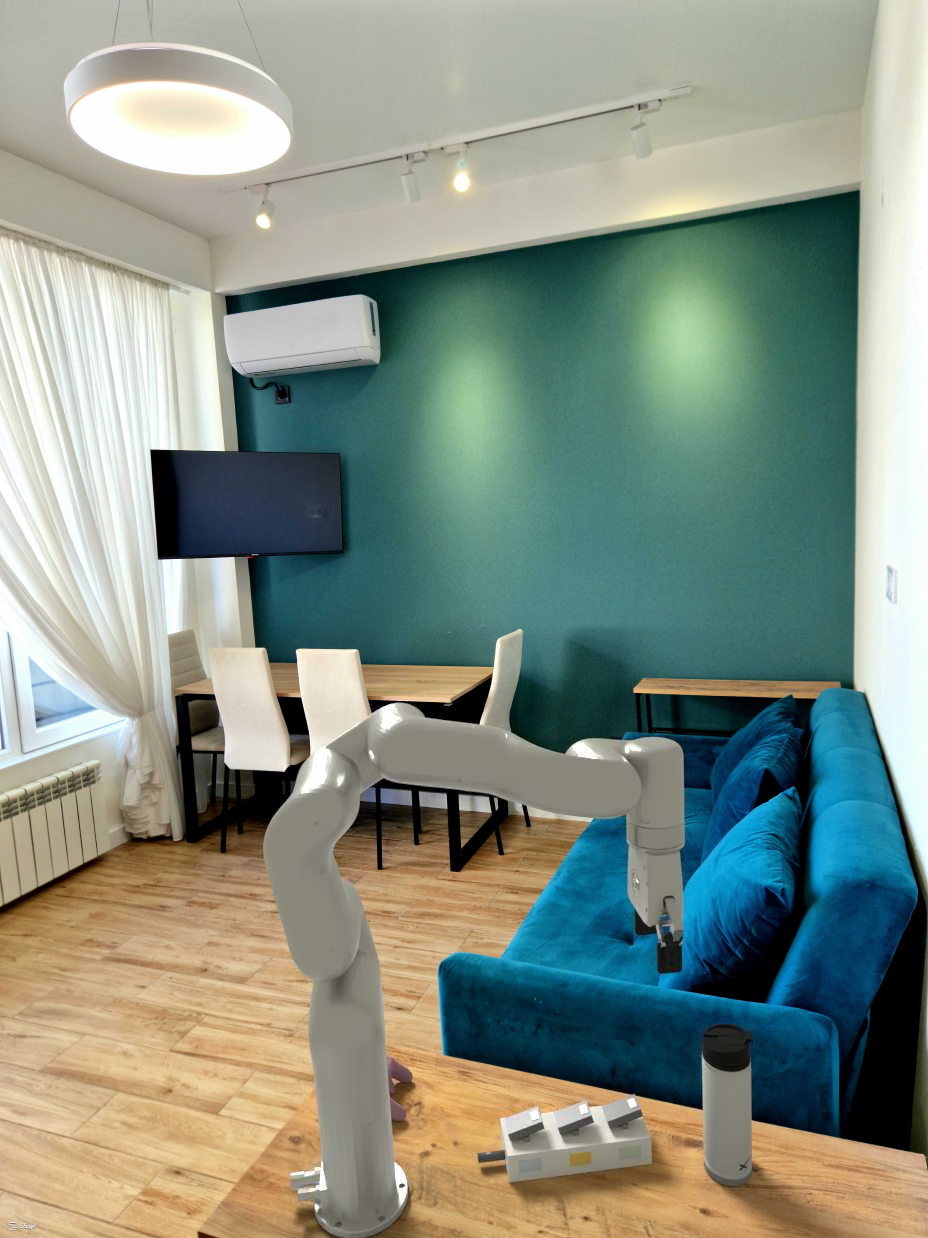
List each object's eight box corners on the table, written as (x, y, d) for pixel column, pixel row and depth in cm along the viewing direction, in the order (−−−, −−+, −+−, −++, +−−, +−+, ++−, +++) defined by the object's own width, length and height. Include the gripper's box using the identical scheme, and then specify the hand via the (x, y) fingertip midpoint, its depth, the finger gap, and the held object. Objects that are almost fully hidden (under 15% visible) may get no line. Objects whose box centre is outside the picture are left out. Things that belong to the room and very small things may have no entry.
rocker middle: (560, 1135, 113) (557, 1128, 112) (555, 1119, 116) (553, 1112, 115) (594, 1122, 113) (591, 1115, 113) (588, 1107, 116) (586, 1099, 116)
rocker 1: (510, 1142, 112) (507, 1134, 112) (507, 1126, 115) (504, 1118, 115) (544, 1129, 112) (541, 1121, 112) (540, 1113, 115) (537, 1105, 115)
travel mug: (758, 1190, 107) (756, 1051, 104) (706, 1185, 108) (703, 1047, 106) (751, 1153, 113) (749, 1021, 111) (702, 1148, 115) (699, 1017, 112)
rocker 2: (609, 1129, 113) (607, 1121, 113) (603, 1113, 116) (601, 1106, 116) (643, 1116, 114) (640, 1108, 113) (636, 1101, 117) (634, 1093, 116)
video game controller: (391, 1087, 133) (370, 1053, 132) (415, 1076, 132) (394, 1041, 131) (382, 1134, 123) (358, 1096, 122) (408, 1121, 122) (384, 1083, 122)
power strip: (481, 1187, 110) (479, 1156, 109) (475, 1147, 117) (473, 1117, 117) (652, 1164, 112) (651, 1133, 112) (636, 1126, 119) (635, 1097, 119)
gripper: (610, 810, 116) (613, 923, 118) (648, 861, 99) (650, 991, 101) (661, 806, 117) (663, 918, 119) (707, 856, 100) (708, 986, 102)
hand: (657, 952), depth 110 cm, fingers open, 9 cm apart
